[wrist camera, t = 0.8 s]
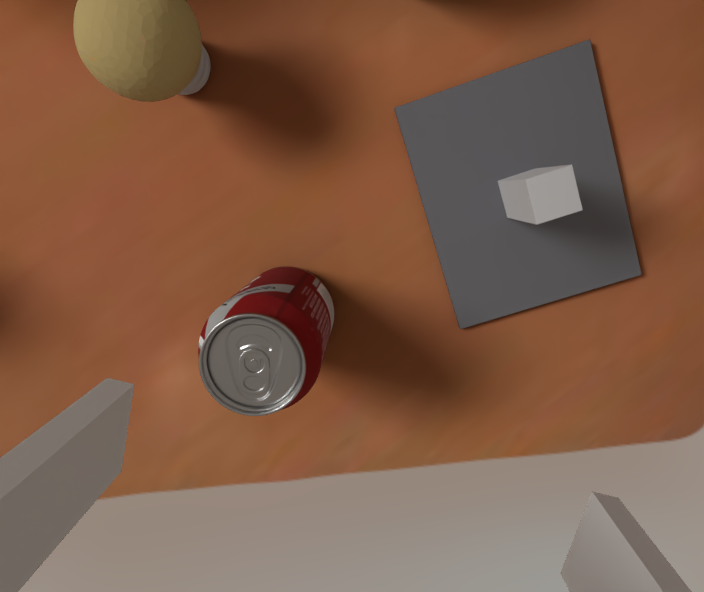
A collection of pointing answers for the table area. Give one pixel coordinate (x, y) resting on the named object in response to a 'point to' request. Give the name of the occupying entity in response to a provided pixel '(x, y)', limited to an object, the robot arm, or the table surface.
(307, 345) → the soda can
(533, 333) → the table surface
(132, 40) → the light bulb
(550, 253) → the grey square base plate
